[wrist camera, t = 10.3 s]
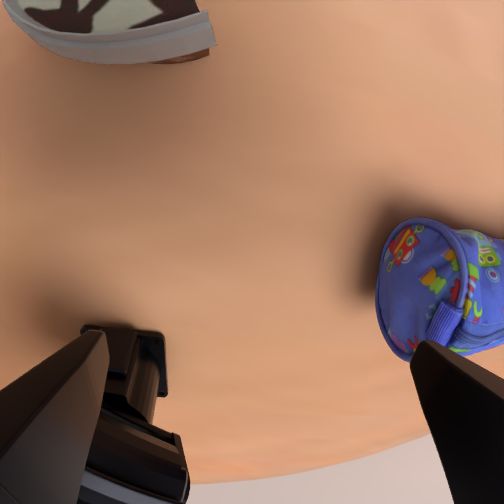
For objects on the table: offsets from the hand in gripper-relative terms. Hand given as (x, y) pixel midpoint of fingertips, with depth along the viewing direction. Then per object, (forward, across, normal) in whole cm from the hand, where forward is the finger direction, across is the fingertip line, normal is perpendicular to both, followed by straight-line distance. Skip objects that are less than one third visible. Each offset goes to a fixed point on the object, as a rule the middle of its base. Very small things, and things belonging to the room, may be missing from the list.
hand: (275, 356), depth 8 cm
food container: (+12, +8, -12) cm, 19 cm away
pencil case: (+12, -20, +2) cm, 23 cm away
